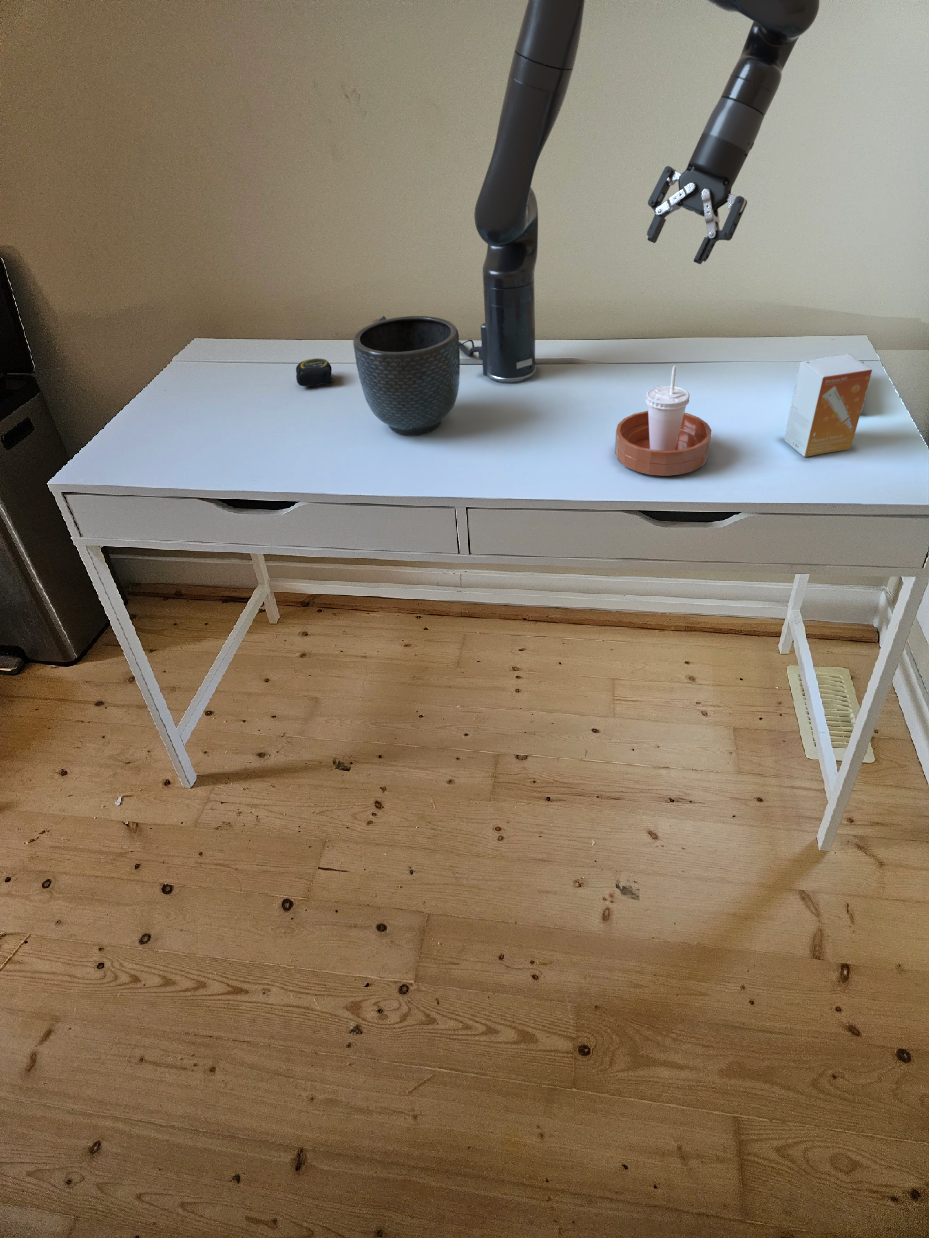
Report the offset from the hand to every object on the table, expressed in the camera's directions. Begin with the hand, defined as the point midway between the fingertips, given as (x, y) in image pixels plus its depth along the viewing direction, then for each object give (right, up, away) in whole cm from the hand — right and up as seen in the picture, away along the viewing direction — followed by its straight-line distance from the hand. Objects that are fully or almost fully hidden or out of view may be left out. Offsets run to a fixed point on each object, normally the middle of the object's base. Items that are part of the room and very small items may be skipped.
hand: (673, 252), depth 128 cm
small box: (+22, -31, -1) cm, 38 cm away
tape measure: (-62, -12, +31) cm, 70 cm away
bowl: (-2, -32, 0) cm, 32 cm away
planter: (-42, -24, +14) cm, 50 cm away
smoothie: (-2, -32, -1) cm, 32 cm away
